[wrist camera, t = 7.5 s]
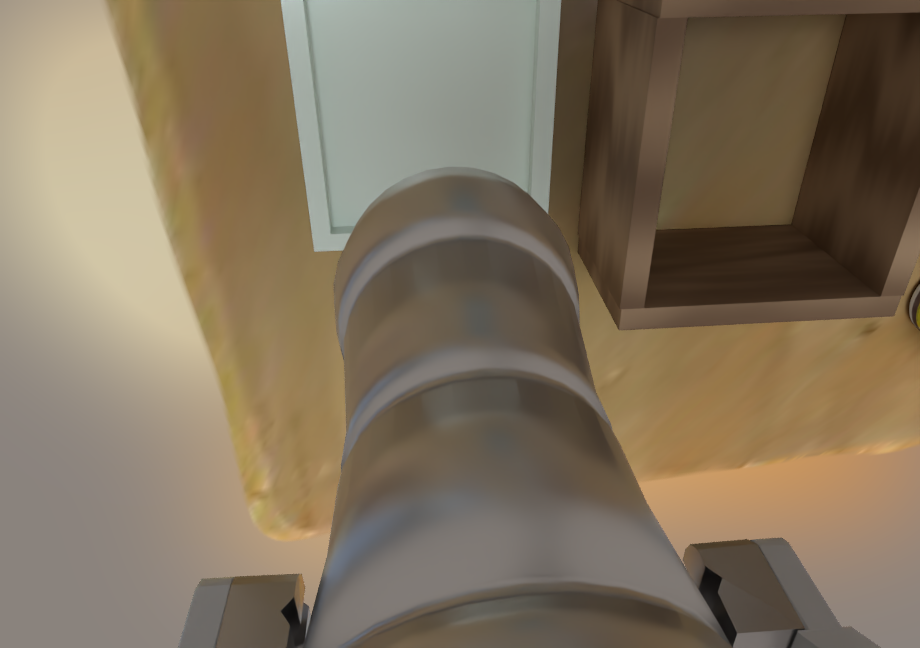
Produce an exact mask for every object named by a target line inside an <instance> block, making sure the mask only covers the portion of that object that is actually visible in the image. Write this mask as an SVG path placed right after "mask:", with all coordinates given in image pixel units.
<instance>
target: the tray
mask: <svg viewBox="0 0 920 648" xmlns="http://www.w3.org/2000/svg"><path fill="white" fill-rule="evenodd" d="M281 6H282V13H283V21H284V28H285V36H286V43H287V51H288V58H289V66H290V73H291V81H292V88H293V96H294V103H295V110H296V118H297V125H298V133H299V140H300V148H301V155H302V163H303V170H304V178H305V185H306V193H307V200H308V208H309V215H310V223H311V230H312V238H313V245H314V252H317V251H340V250H344V248H345V245H346V243H347V241H348V239H349V237H350V235H351V233H352V231H353V229H354V227H355V225H356V223H357V222H358V220H359V219H360V217H361V216H362V215H363V213H364V212H365V211H366V209H367V208H368V206H369V205H370V204H371V203H372V202H373V201H374V200H375V199H376V198H377V197H379V196H380V195H381V194H382V193H383V192H384V191H385V190H386V189H388V188H390V187H391V186H393V185H395V184H396V183H398V182H400V181H401V180H403V179H405V178H407V177H409V176H412V175H415V174H418V173H420V172H423V171H426V170H431V169H437V168H444V167H471V168H476V169H480V170H484V171H488V172H492V173H495V174H497V175H499V176H501V177H503V178H506V179H508V180H510V181H512V182H514V183H515V184H516V185H518V186H519V187H520V188H521V189H523V190H524V191H525V192H527V193H528V194H529V195H530V196H531V197H532V198H533V199H534V200H535V201H536V202H537V203H538V204H539V205H540V206H541V207H542V208H543V209H544V210H545V211H546V213H547V214H548V207H549V191H550V175H551V158H552V142H553V126H554V110H555V93H556V77H557V61H558V44H559V28H560V12H561V0H281Z"/></svg>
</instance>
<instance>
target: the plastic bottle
mask: <svg viewBox="0 0 920 648" xmlns="http://www.w3.org/2000/svg"><path fill="white" fill-rule="evenodd" d="M334 308H335V319H336V329H337V335H338V339H339V343H340V347H341V351H342V355H343V359H344V369H345V404H346V437H345V444H344V450H343V456H342V463H341V476H340V480H339V484H338V488H337V495H336V501H335V508H334V514H333V521H332V527H331V534H330V540H329V547H328V554H327V558H326V562H325V566H324V569H323V573H322V577H321V581H320V585H319V588H318V593H317V596H316V600H315V604H314V607H313V611H312V615H311V619H310V623H309V626H308V630H307V634H306V638H305V642H304V645H303V648H733V647H732V646H731V644H730V643H729V641H728V639H727V637H726V635H725V634H724V632H723V630H722V628H721V627H720V625H719V623H718V621H717V620H716V618H715V616H714V615H713V613H712V611H711V610H710V608H709V606H708V605H707V603H706V601H705V600H704V598H703V596H702V595H701V593H700V591H699V590H698V588H697V586H696V584H695V583H694V581H693V579H692V578H691V576H690V574H689V573H688V571H687V569H686V568H685V566H684V564H683V563H682V561H681V559H680V558H679V556H678V554H677V553H676V551H675V549H674V548H673V546H672V544H671V543H670V541H669V539H668V537H667V536H666V534H665V533H664V531H663V529H662V528H661V526H660V524H659V522H658V521H657V519H656V518H655V516H654V514H653V512H652V511H651V509H650V507H649V506H648V504H647V502H646V500H645V498H644V495H643V493H642V491H641V489H640V487H639V485H638V482H637V480H636V478H635V476H634V474H633V471H632V469H631V467H630V465H629V463H628V460H627V458H626V456H625V454H624V452H623V450H622V447H621V445H620V443H619V441H618V440H617V438H616V436H615V434H614V433H613V431H612V427H611V423H610V421H609V419H608V417H607V415H606V413H605V410H604V408H603V406H602V404H601V402H600V400H599V398H598V395H597V393H596V390H595V386H594V382H593V378H592V374H591V370H590V366H589V362H588V358H587V354H586V350H585V346H584V342H583V338H582V334H581V330H580V326H579V294H578V288H577V283H576V277H575V272H574V267H573V263H572V258H571V254H570V250H569V247H568V245H567V243H566V241H565V239H564V237H563V235H562V233H561V231H560V229H559V227H558V226H557V225H556V224H555V222H554V221H553V220H552V219H551V217H550V216H549V215H548V214H547V213H546V211H545V210H544V209H543V208H542V207H541V206H540V205H539V204H538V203H537V202H536V201H535V200H534V199H533V198H532V197H531V196H530V195H529V194H528V193H527V192H525V191H524V190H523V189H521V188H520V187H519V186H518V185H516V184H515V183H514V182H512V181H510V180H508V179H506V178H503V177H501V176H499V175H497V174H495V173H492V172H488V171H484V170H480V169H476V168H471V167H444V168H437V169H431V170H426V171H423V172H420V173H418V174H415V175H412V176H409V177H407V178H405V179H403V180H401V181H400V182H398V183H396V184H395V185H393V186H391V187H390V188H388V189H386V190H385V191H384V192H383V193H382V194H381V195H380V196H379V197H377V198H376V199H375V200H374V201H373V202H372V203H371V204H370V205H369V206H368V208H367V209H366V211H365V212H364V213H363V215H362V216H361V217H360V219H359V220H358V222H357V223H356V225H355V227H354V229H353V231H352V233H351V235H350V237H349V239H348V241H347V243H346V245H345V248H344V250H343V252H342V254H341V257H340V259H339V261H338V265H337V270H336V275H335V280H334Z"/></svg>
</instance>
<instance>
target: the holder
mask: <svg viewBox="0 0 920 648" xmlns="http://www.w3.org/2000/svg"><path fill="white" fill-rule="evenodd" d="M823 14H847V15H846V19H845V23H844V27H843V31H842V34H841V38H840V42H839V46H838V50H837V53H836V57H835V61H834V65H833V69H832V72H831V76H830V80H829V84H828V88H827V91H826V95H825V99H824V103H823V107H822V111H821V114H820V118H819V122H818V126H817V130H816V133H815V137H814V141H813V145H812V149H811V152H810V156H809V160H808V164H807V168H806V171H805V175H804V179H803V183H802V187H801V190H800V194H799V198H798V202H797V206H796V210H795V213H794V217H793V221H792V225H771V226H748V227H724V228H700V229H677V230H656V225H657V219H658V212H659V206H660V199H661V192H662V186H663V179H664V173H665V166H666V159H667V153H668V146H669V140H670V133H671V126H672V120H673V113H674V107H675V100H676V93H677V87H678V80H679V74H680V67H681V60H682V54H683V47H684V41H685V34H686V27H687V21H688V18H689V17H734V16H779V15H823ZM578 235H579V244H578V253H579V255H580V257H581V259H582V261H583V263H584V265H585V267H586V268H587V270H588V272H589V274H590V276H591V278H592V280H593V282H594V284H595V286H596V288H597V289H598V291H599V293H600V295H601V297H602V299H603V301H604V303H605V305H606V307H607V309H608V310H609V312H610V314H611V316H612V318H613V320H614V322H615V324H616V326H617V328H618V329H619V330H635V329H655V328H674V327H694V326H713V325H733V324H752V323H772V322H791V321H811V320H830V319H849V318H869V317H888V316H894V315H895V312H896V310H897V307H898V304H899V302H900V299H901V296H902V295H904V293H905V291H906V288H907V285H908V283H909V280H910V277H911V275H912V272H913V269H914V267H915V264H916V261H917V259H918V256H919V253H920V0H598V7H597V19H596V30H595V42H594V53H593V64H592V76H591V87H590V99H589V110H588V122H587V133H586V145H585V156H584V168H583V179H582V191H581V202H580V214H579V225H578Z"/></svg>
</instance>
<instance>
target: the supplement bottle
mask: <svg viewBox="0 0 920 648" xmlns="http://www.w3.org/2000/svg"><path fill="white" fill-rule="evenodd" d="M909 314H910V318H911V320H912V322H913V324H914V325H915V326H916V328H918V329H919V330H920V284H919V286H918V287H917V288H916V290H915V292H914V293H913V296H912V298H911V301H910V306H909Z"/></svg>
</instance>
